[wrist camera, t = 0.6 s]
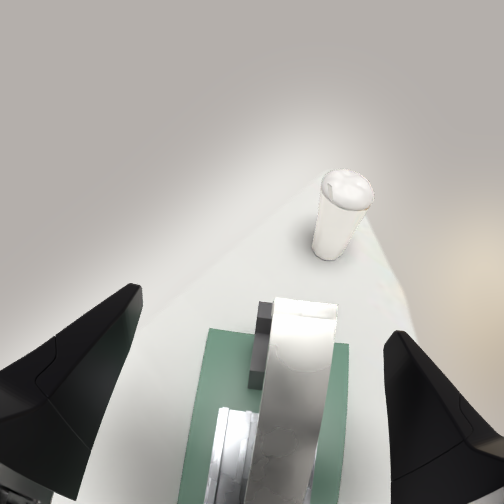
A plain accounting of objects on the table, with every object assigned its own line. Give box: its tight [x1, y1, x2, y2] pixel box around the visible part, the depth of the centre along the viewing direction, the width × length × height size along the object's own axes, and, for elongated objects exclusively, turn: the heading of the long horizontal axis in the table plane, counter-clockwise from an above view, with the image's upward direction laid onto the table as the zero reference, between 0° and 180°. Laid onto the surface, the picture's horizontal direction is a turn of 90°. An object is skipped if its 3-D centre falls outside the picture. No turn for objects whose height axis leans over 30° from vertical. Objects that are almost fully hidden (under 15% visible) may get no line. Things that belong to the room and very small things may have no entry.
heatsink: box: [204, 407, 318, 504], centre depth 16 cm, size 9×7×3 cm
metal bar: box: [244, 298, 338, 504], centre depth 10 cm, size 17×2×2 cm, turn 174°
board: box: [177, 328, 349, 504], centre depth 18 cm, size 20×12×1 cm, turn 172°
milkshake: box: [312, 169, 375, 260], centre depth 26 cm, size 4×5×10 cm
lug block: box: [247, 301, 273, 390], centre depth 19 cm, size 4×4×7 cm
